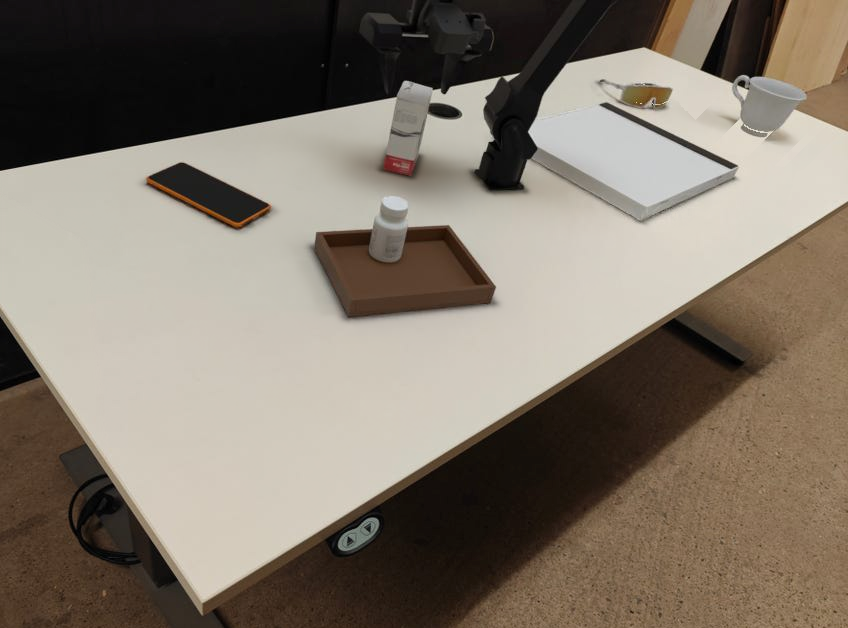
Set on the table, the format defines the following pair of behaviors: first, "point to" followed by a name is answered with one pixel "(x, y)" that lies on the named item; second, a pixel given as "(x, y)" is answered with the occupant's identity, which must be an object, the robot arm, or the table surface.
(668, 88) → the sunglasses
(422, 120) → the ink box
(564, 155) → the white flat slab
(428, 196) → the table surface
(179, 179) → the smartphone
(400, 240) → the pill bottle
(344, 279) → the tray
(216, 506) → the table surface
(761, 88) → the teacup
